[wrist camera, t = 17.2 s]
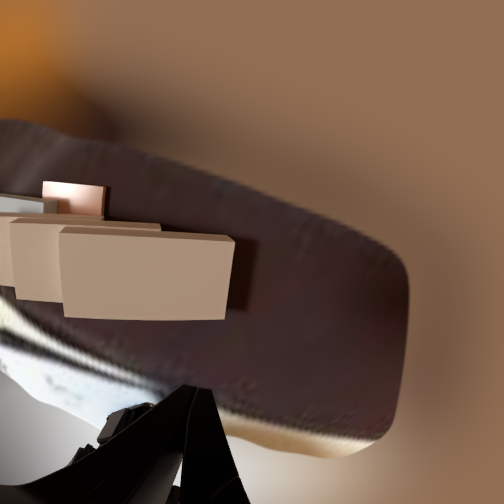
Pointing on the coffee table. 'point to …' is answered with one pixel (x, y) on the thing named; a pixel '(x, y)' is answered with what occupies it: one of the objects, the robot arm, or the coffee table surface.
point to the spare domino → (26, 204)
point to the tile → (76, 197)
